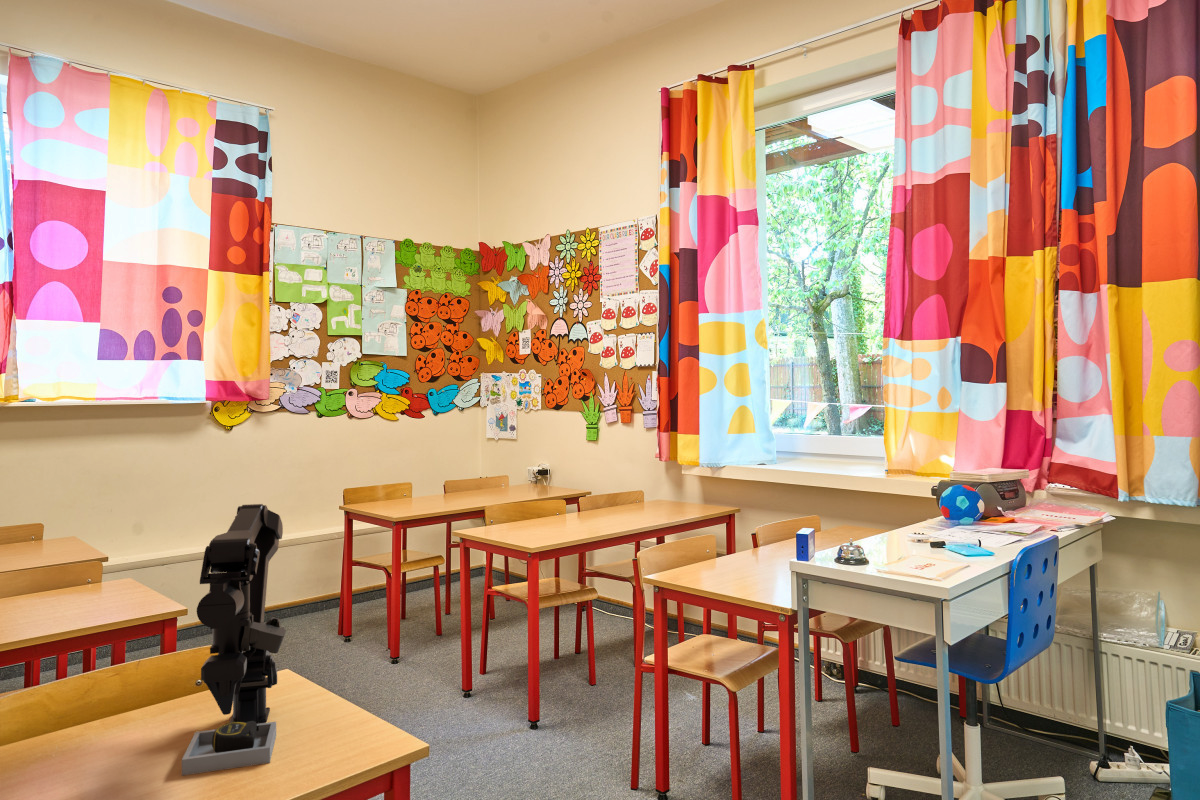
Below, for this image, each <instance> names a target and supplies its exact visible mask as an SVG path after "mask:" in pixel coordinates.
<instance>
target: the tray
mask: <svg viewBox="0 0 1200 800" xmlns="http://www.w3.org/2000/svg"><path fill="white" fill-rule="evenodd" d="M258 725H259V727H258V728H259V731H256V737H255V740H254V746H253V748H249V749H242V750H235V751H227V752H220V753H216V752H215V751H214V749H213V747H212V738H213V734H214V732H215V730H216V729H217V728H216V729H209V730H200V731H199V730H198V731H195V732H194V734H193V736H192V738H191V741H190V743H189V744H188V746H187V749H186V750H185V752H184V754H183V756H182V758H181V776H189V775H195V774H202V773H208V772H214V771H215V772H216V771H222V770H230V769H235V768H245V767H251V766H256V765H262V764H270V763H271V759H272V755H273V752H274V751H273V750H274V746H275V742H276V738H277V721H267V722H265V723H258V724H257V726H258Z"/></svg>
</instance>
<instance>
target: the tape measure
mask: <svg viewBox="0 0 1200 800" xmlns="http://www.w3.org/2000/svg"><path fill="white" fill-rule="evenodd" d="M258 727H259V725H258V726H257V723H256V722H255V721H249V722H233V723H229V722H228V723H226V724H223V725H221V726H219V727H218V728H216V730H215V732H214V734H213V738H212V747H213V749H214V751H215V752H216V753H220V752H227V751H235V750H242V749H249V748H253V746H254V740H255V737H256V731H259V728H258Z"/></svg>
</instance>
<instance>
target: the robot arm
mask: <svg viewBox="0 0 1200 800" xmlns="http://www.w3.org/2000/svg"><path fill="white" fill-rule="evenodd" d="M230 524H231V525H230V526H229V527H228V529H227V531H226V532H225V533H221V534H217V535H215V537H214V538H212V539H211V540H210V542H209V544H208V545H206V547H205V550H204V553H203V560H202V565H201V570H200V578H199V585H209V591H208V592H207V593H206V594H205V595H204V596H203V597H202V598H201V599H200V600H199V602H198V604H197V606H196V616H197V618H198V621H200V623H201V624H202V625H204V626H206V627H208V628H209V629H210V630H212V634H211V635H212V639H211V640H212V644H211V646H210V647H209V649H210V650H209V654H210V656H209V657H208V658H207V659H206V660H205V661H204V663H203V664H202V666H201V668H200V680H201V681H202V682H203V683H204V684H206V687H207V688H208V689H209V691H210V694H211V695H212V697H213V698H214V700H215V702H216V704H217V706H218V708H219V709H220V711H221V713H222V715H224V716H226V715H230V714H231V712H232V714H231V717H230V719H229V722H228V724H229V723H233V722H249V721H255V722H256V723H257V724H261V723H268V718H269V715H270V712H271V710H270V709H271V708H270V707H267V689H271V688H272V687H273V686H276V685H278V670H277V664H276V662H275V660H274V657H273V655H272V654H278V653H279V651H280V649H281V646H282V643H283V640H284V638H285V635H286V632H287V630H286V628H285V627H284V626H282V625H281V620H280V619H281V618H277V617H274V616H271V617H269V619H268V620H267V621H265V611H266V609H265V608H266V598H267V586H268V572H269V562H270V560H271V559H272V558H273V557H274V555H275V554H277V552H278V550H279V542H280V540H282V539H283V532H284V531H283V530H284V529H283V527H284V525H283V521H282V518H281V515H280V514H278V513H276V512H273V511H272V510H270V509H268V506H267V505H266V504H263V503H257V504H256V503H253V504H242V505H241V506H240V505H239V506H238V507H237V509H236V515H235V516H234V519H233V520H232V523H230ZM264 622H265V623H264ZM281 626H282V627H281ZM211 654H212V655H211Z"/></svg>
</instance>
